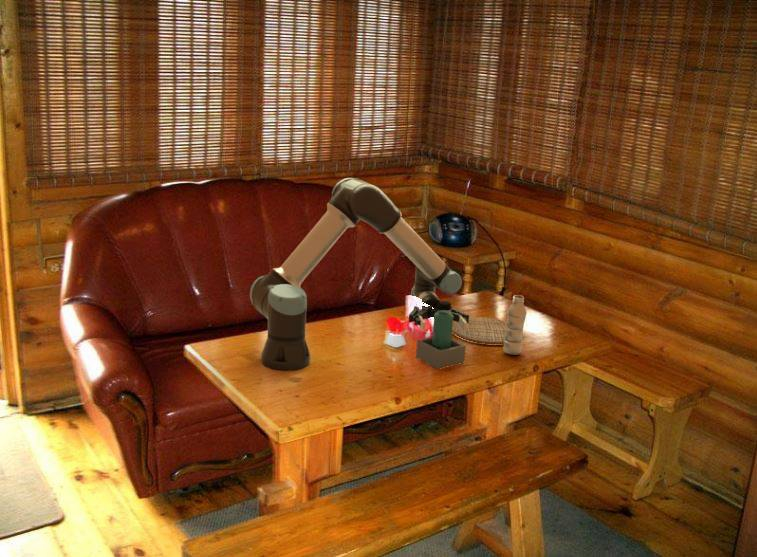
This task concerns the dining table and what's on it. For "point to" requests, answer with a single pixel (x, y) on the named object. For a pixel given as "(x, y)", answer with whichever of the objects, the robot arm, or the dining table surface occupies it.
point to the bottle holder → (440, 353)
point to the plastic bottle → (515, 326)
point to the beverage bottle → (442, 326)
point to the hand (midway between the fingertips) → (444, 326)
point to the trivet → (482, 330)
